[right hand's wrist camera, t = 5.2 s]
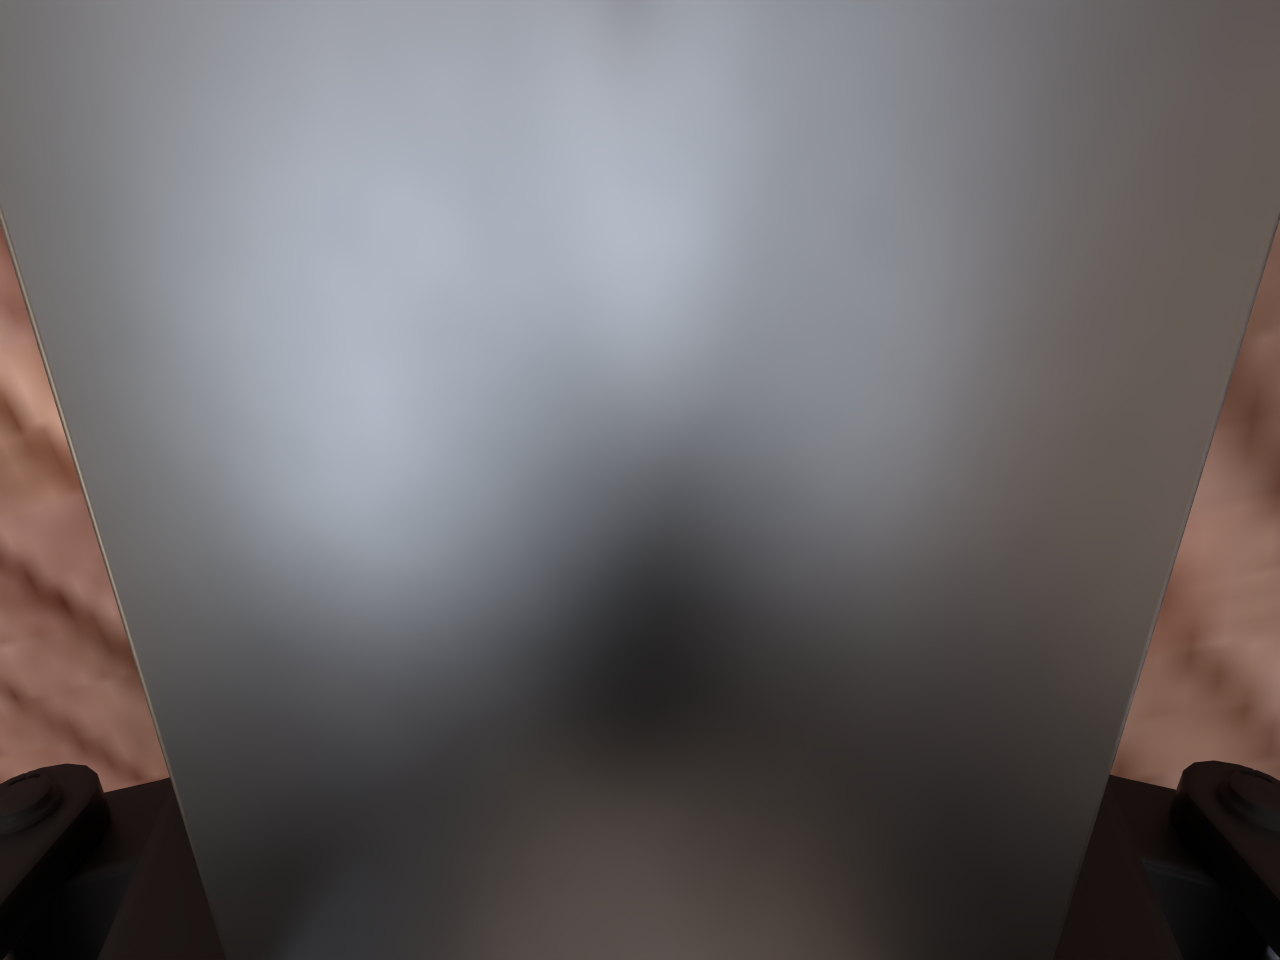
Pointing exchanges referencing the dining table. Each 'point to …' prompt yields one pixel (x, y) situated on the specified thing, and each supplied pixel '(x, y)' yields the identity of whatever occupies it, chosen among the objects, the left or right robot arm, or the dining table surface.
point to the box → (639, 443)
